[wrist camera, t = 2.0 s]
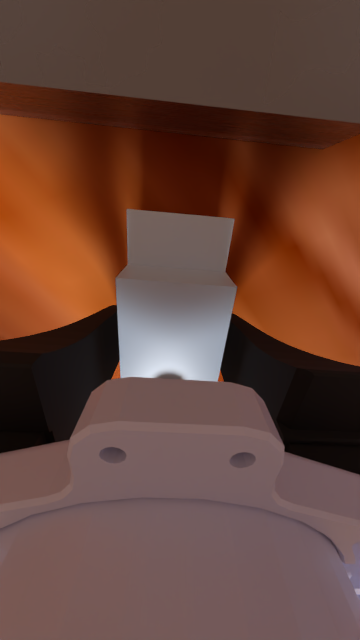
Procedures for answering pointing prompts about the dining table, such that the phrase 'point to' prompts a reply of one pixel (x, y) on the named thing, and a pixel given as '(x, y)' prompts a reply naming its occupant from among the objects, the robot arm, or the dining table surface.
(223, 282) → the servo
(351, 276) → the dining table surface
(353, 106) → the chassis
